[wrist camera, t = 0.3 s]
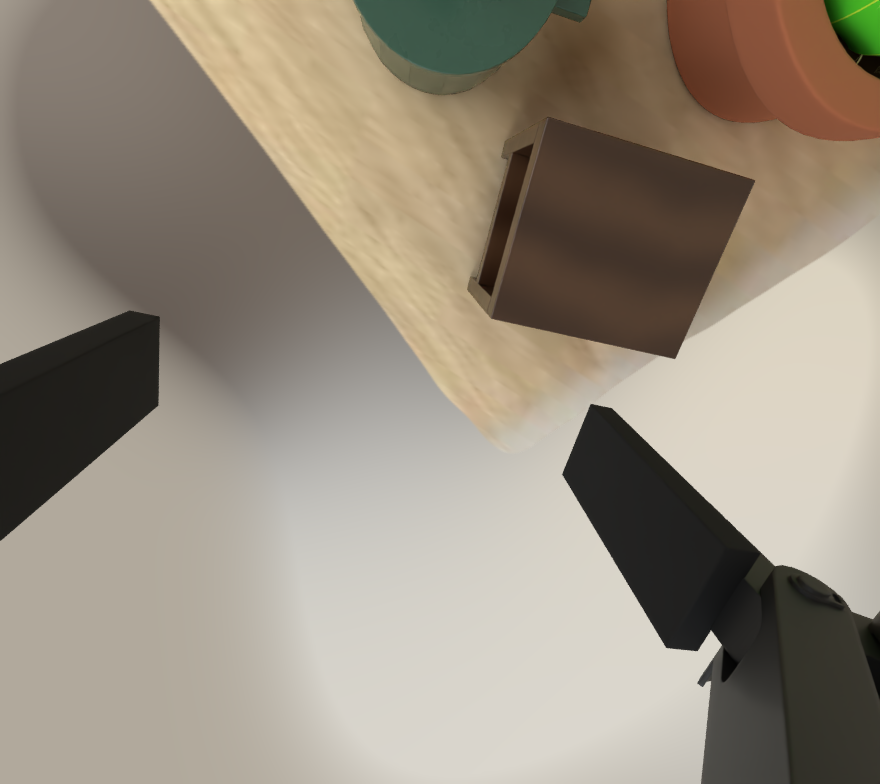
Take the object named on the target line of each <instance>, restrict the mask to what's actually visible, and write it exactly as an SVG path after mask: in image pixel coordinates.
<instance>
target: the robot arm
mask: <svg viewBox="0 0 880 784" xmlns="http://www.w3.org/2000/svg"><path fill="white" fill-rule="evenodd" d="M159 324H160V317H159V316H154V315H149V314H144V313H139V312H134V311H127V312H125V313H123V314H121V315H118V316H116V317H113V318H111V319H108V320H106V321H103V322H101V323H98V324H96V325H94V326H91V327H89V328H86V329H84V330H82V331H79V332H77V333H74V334H72V335H69V336H67V337H65V338H62V339H60V340H57V341H55V342H52V343H50V344H48V345H45V346H43V347H40V348H38V349H36V350H33V351H31V352H29V353H26V354H24V355H21V356H19V357H16V358H14V359H11V360H9V361H7V362H4V363H2V364H0V541H1V540H2V539H3V538H4V537H5V536H7V535H8V534H9V533H10V532H11V531H13V530H14V529H15V528H16V527H17V526H18V525H19V524H21V523H22V522H23V521H24V520H25V519H27V518H28V517H29V516H30V515H31V514H32V513H34V512H35V511H36V510H37V509H38V508H39V507H41V505H43V504H44V503H45V502H46V501H47V500H49V499H50V498H51V497H52V496H53V495H54V494H56V493H57V492H58V491H59V490H60V489H62V488H63V487H64V486H65V485H66V484H67V483H69V482H70V481H71V480H72V479H73V478H74V477H76V476H77V475H78V474H79V473H80V472H81V471H82V470H84V469H85V468H86V467H87V466H88V465H89V464H91V463H92V462H93V461H94V460H95V459H96V458H98V457H99V456H100V455H101V454H102V453H103V452H105V451H106V450H107V449H108V448H109V447H110V446H112V445H113V444H114V443H115V442H116V441H117V440H118V439H120V438H121V437H122V436H123V435H124V434H126V433H127V432H128V431H129V430H130V429H131V428H132V427H134V426H135V425H136V424H137V423H138V422H140V421H141V420H142V419H143V418H144V417H145V416H146V415H148V414H149V413H150V412H151V411H152V410H153V409H155V408H156V407H157V406H158V396H159V326H160V325H159ZM562 475H563V476H564V478H565V480H566V481H567V483H568V485H569V486H570V488H571V490H572V491H573V493H574V495H575V496H576V498H577V500H578V501H579V503H580V505H581V506H582V508H583V510H584V511H585V513H586V514H587V516H588V518H589V520H590V521H591V523H592V525H593V526H594V528H595V530H596V531H597V533H598V535H599V537H600V538H601V540H602V541H603V543H604V545H605V547H606V548H607V550H608V552H609V553H610V555H611V557H612V558H613V560H614V562H615V563H616V565H617V566H618V568H619V570H620V571H621V573H622V575H623V576H624V578H625V580H626V582H627V583H628V585H629V587H630V588H631V590H632V592H633V593H634V595H635V597H636V598H637V600H638V602H639V603H640V605H641V606H642V608H643V609H644V611H645V613H646V615H647V617H648V618H649V620H650V622H651V623H652V625H653V626H654V628H655V630H656V631H657V633H658V635H659V637H660V638H661V640H662V641H663V643H664V645H665V646H666V648H672V649H681V650H691V651H698V650H699V648H700V646H701V645H702V643H703V642H704V640H705V639H706V637H707V636H708V634H709V632H710V630H712V632H713V633H714V635H715V636H716V637H717V639H718V640H719V641H720V643H721V644H722V646H721V648H720V649H719V651H718V652H717V654H716V655H715V657H714V658H713V660H712V661H711V662H710V664H709V666H708V667H707V669H706V670H705V671H704V673H703V675H702V676H701V677H700V679H699V681H698V684H699V685H700V686H702V687H703V686H704V684H705V683H706V682H707V681H711V690H710V700H709V710H708V720H707V731H706V740H705V750H704V761H703V770H702V781H701V784H880V612H879V613H878V614H877V615H876V616H875V618H874V619H870V618H867V617H864V616H862V615H859V614H856V613H853V612H851V610H850V608H849V607H848V605H847V604H846V602H845V601H844V600H843V598H842V597H841V596H839V595H838V594H837V593H836V592H835V591H834V590H832V589H831V588H829V587H828V586H827V585H825V584H824V583H823V582H821V581H819V580H818V579H816V578H815V577H812V576H811V575H809V574H807V573H805V572H802V571H800V570H798V569H795V568H792V567H788V566H783V565H782V566H774V565H773V564H772V563H771V562H770V561H769V560H768V559H767V558H766V557H765V556H764V555H763V554H762V553H761V552H760V551H758V549H757V548H756V547H755V546H753V545H752V544H751V543H750V542H749V541H748V540H747V539H746V538H745V537H744V536H743V535H742V534H741V533H740V532H739V531H738V530H737V529H736V528H735V527H734V526H733V525H732V524H731V523H730V522H729V521H728V520H726V519H725V518H724V517H723V515H722V514H720V512H718V511H717V510H716V509H715V508H714V507H713V506H712V505H711V504H710V503H709V502H708V501H707V500H705V498H704V497H702V496H701V494H699V493H698V492H697V491H696V490H695V489H694V488H693V487H692V486H691V485H690V484H689V483H688V482H687V481H686V480H685V479H684V478H683V477H682V476H681V475H680V474H679V473H678V472H677V471H676V470H675V469H674V468H673V467H672V466H671V465H670V464H669V463H668V462H667V461H666V460H665V459H664V458H662V457H661V456H660V455H659V454H658V453H657V452H656V451H655V450H654V449H653V448H652V447H651V446H650V445H649V444H648V443H647V442H646V441H645V440H644V439H643V438H642V437H641V436H640V435H639V434H638V433H637V432H636V431H635V430H634V429H633V428H632V427H631V426H630V425H629V424H627V423H626V422H625V421H624V420H623V419H622V418H621V417H620V416H619V415H618V414H617V413H616V412H615V411H614V410H613V409H612V408H608V407H603V406H598V405H593V404H591V405H590V407H589V410H588V412H587V415H586V417H585V419H584V422H583V424H582V427H581V429H580V432H579V434H578V437H577V439H576V442H575V444H574V447H573V449H572V452H571V454H570V457H569V459H568V461H567V464H566V466H565V469H564V471H563V474H562Z"/></svg>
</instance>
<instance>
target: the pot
mask: <svg viewBox="0 0 880 784" xmlns="http://www.w3.org/2000/svg"><path fill="white" fill-rule="evenodd" d="M590 3H591V0H557V3H556V5H555V7H554V9H553V10H552V12H551V13H554V14H557V15H559V16H562V17H565V18H568V19H571V20H574V21H577V22H579V23H581V22H582V21H583V20H584V19H585V18H586V16H587V13H588V10H589V6H590ZM361 21H362V26H363V29H364V31H365V33H366V34H367V37H368V39H369V41H370V43H371V45H372V47H373V49H374V50H375V52H376V54H377V55H378V57H379V58H380V60H381V62H382V63H383V64H384V65H385V66H386V67H387V68H388V69H389V70H390V71H391V72H392V73H393V74H394V75H395V76H396V77H397V78H399V79H400V80H401V81H403V82H404V83H406V84H407V85H409V86H411V87H413V88H415V89H417V90H420V91H423V92H426V93H431V94H438V95H447V94H456V93H460V92H464V91H466V90H470V89H472V88H473V87H475V86H477V85H478V84H480V83H482V82H483V81H484V80H486V79H487V78H488V77H489V76H490V75H492V74H493V73H495V72H496V71H497V70H498V69H499V68H500V66H501V65H500V66H498V67H496V68H494V69H491V70H489V71H487V72H484V73H480V74H476V75H472V76H462V77H450V76H441V75H436V74H432V73H428V72H425V71H423V70H420V69H418V68H415V67H414V66H412V65H410V64H408V63H407V62H405V61H403V60H401V59H400V58H399V57H398V56H396V55H395V54H394V53H392V52H391V51H390V50H389V49H388V48H387V47H386V46H385V45H384V44H383V43H382V42H381V41H380V40H379V39H378V38H377V37H376V36H375V35H374V33H373V32H372V31H371V30H370V28H369V27H368V26H367V24H366V23H365V21H364V20H363V18H362V16H361Z"/></svg>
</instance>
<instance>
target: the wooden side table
mask: <svg viewBox="0 0 880 784" xmlns="http://www.w3.org/2000/svg"><path fill="white" fill-rule="evenodd" d="M501 157H502V158H505V159H508V162H507V165H506V169H505V173H504V177H503V181H502V185H501V188H500V192H499V196H498V200H497V204H496V207H495V211H494V215H493V219H492V223H491V227H490V230H489V234H488V238H487V242H486V246H485V249H484V253H483V257H482V261H481V265H480V269H479V272H478V276H477V278H475V277H470V280H469V284H468V288H467V290H468V291H469V292H470V294H471V295H472V296H473V297H474V298H475V300H476V301H477V302H478V303H479V305H480V306H481V307H482V308H483V309H484V311H485V312H486V313H487V314H488V315H489V317H490V318H491V319H495V320H499V321H504V322H509V323H513V324H518V325H522V326H527V327H531V328H536V329H540V330H545V331H550V332H554V333H559V334H563V335H568V336H572V337H577V338H581V339H586V340H591V341H595V342H600V343H604V344H609V345H613V346H618V347H623V348H627V349H632V350H636V351H641V352H645V353H650V354H654V355H659V356H664V357H668V358H673V359H675V358H676V356H677V354H678V352H679V349H680V347H681V345H682V343H683V341H684V338H685V336H686V334H687V332H688V329H689V327H690V325H691V323H692V321H693V318H694V316H695V314H696V312H697V309H698V307H699V305H700V303H701V301H702V298H703V296H704V294H705V292H706V289H707V287H708V285H709V283H710V281H711V278H712V276H713V274H714V272H715V269H716V267H717V265H718V263H719V260H720V258H721V256H722V254H723V252H724V249H725V247H726V245H727V243H728V240H729V238H730V236H731V234H732V232H733V229H734V227H735V225H736V223H737V220H738V218H739V216H740V214H741V212H742V209H743V207H744V205H745V203H746V200H747V198H748V196H749V194H750V191H751V189H752V187H753V185H754V183H755V180H753V179H750V178H746V177H743V176H740V175H736V174H733V173H730V172H727V171H723V170H720V169H717V168H714V167H710V166H707V165H704V164H701V163H697V162H694V161H691V160H687V159H684V158H681V157H678V156H674V155H671V154H668V153H665V152H661V151H658V150H655V149H652V148H648V147H645V146H642V145H638V144H635V143H632V142H629V141H625V140H622V139H619V138H616V137H612V136H609V135H606V134H603V133H599V132H596V131H593V130H590V129H586V128H583V127H580V126H576V125H573V124H570V123H567V122H563V121H560V120H557V119H554V118H550V117H547V118H545V119H543V120H542V121H540V122H538V123H536V124H535V125H533V126H531V127H530V128H528V129H526V130H524V131H523V132H521V133H519V134H517V135H516V136H514V137H512V138H510V139H509V140H507V141H505V144H504V148H503V152H502V156H501Z"/></svg>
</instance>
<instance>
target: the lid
mask: <svg viewBox="0 0 880 784" xmlns="http://www.w3.org/2000/svg"><path fill="white" fill-rule="evenodd" d="M353 2H354V4H355V6H356V8H357V10H358V11H359V13H360V15H361V16H362V18H363V20H364V21H365V23H366V24H367V26H368V27H369V28H370V30H371V31H372V32H373V33H374V35H375V36H376V37H377V38H378V39H379V40H380V41H381V42H382V43H383V44H384V45H385V46H386V47H387V48H388V49H389V50H390V51H391V52H392V53H394V54H395V55H396V56H398V57H399V58H400V59H401V60H403V61H405V62H407V63H408V64H410V65H412V66H414V67H415V68H418V69H420V70H423V71H425V72H428V73H432V74H436V75H441V76H450V77H462V76H472V75H476V74H480V73H484V72H487V71H489V70H491V69H494V68H496V67H498V66H500V65H502V64H503V63H505V62H507V61H508V60H510V59H511V58H513V57H514V56H515V55H516V54H518V53H519V52H520V51H521V50H523V49H524V47H525V46H526V45H527V44H528V43H529V42H530V41H531V40H532V39H533V38H534V37H535V36H536V34H537V33H538V32H539V30H540V29H541V28H542V26H543V25H544V24H545V22H546V21H547V19H548V17H549V15H550V14H551V12H552V10H553V9H554V7H555V5H556V3H557V0H353Z"/></svg>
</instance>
